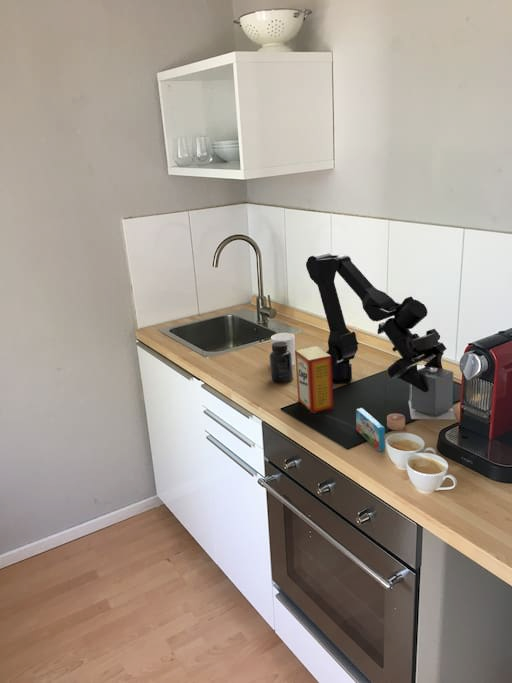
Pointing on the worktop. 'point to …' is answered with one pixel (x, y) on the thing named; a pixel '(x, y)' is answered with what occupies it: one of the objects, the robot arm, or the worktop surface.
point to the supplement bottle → (281, 363)
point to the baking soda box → (314, 378)
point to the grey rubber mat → (421, 415)
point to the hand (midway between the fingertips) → (435, 386)
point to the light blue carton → (370, 429)
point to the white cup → (288, 339)
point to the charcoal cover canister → (433, 391)
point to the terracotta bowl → (396, 421)
